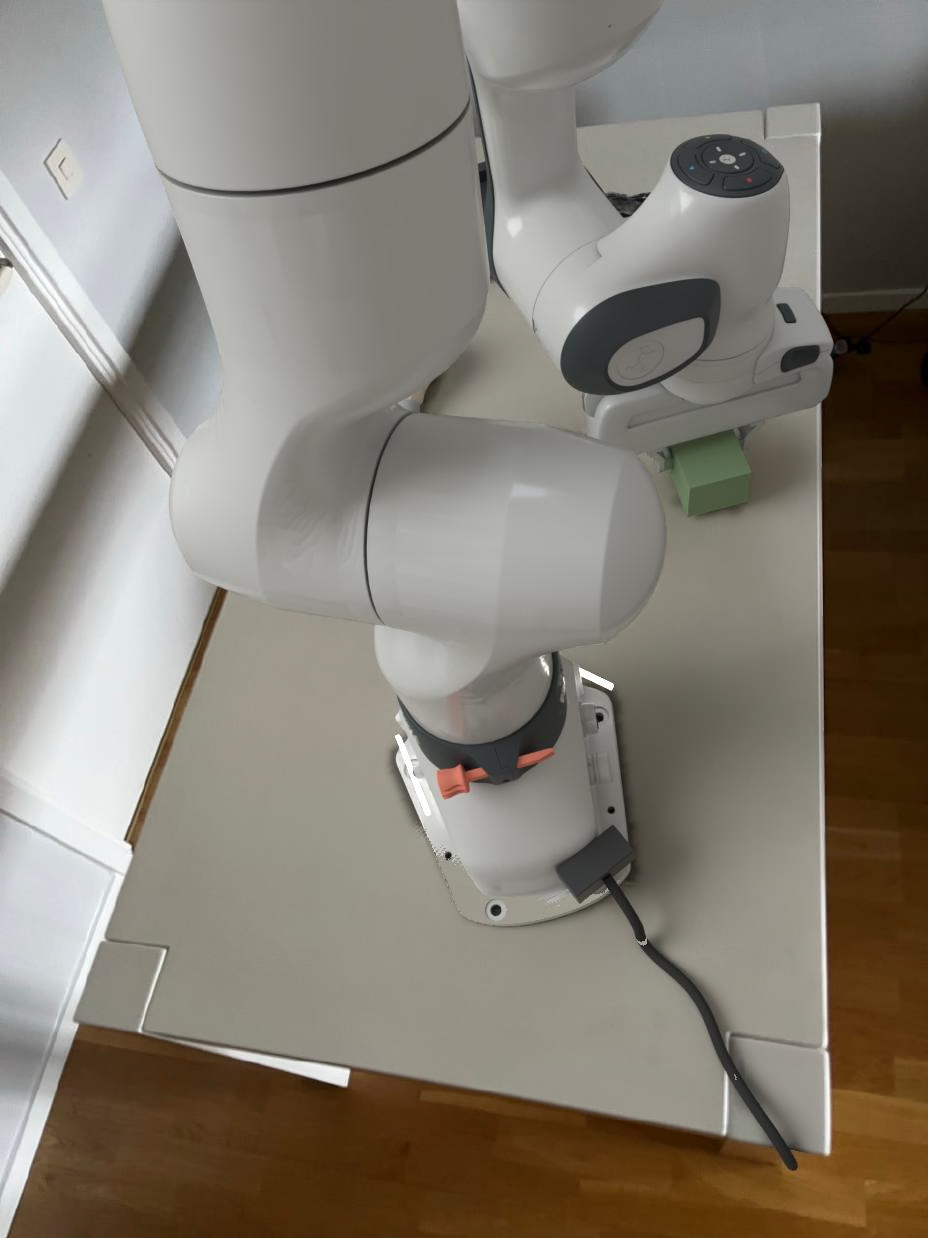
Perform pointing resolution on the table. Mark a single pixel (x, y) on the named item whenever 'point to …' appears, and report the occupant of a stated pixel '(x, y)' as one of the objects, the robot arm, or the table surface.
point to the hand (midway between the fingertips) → (700, 454)
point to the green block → (710, 473)
